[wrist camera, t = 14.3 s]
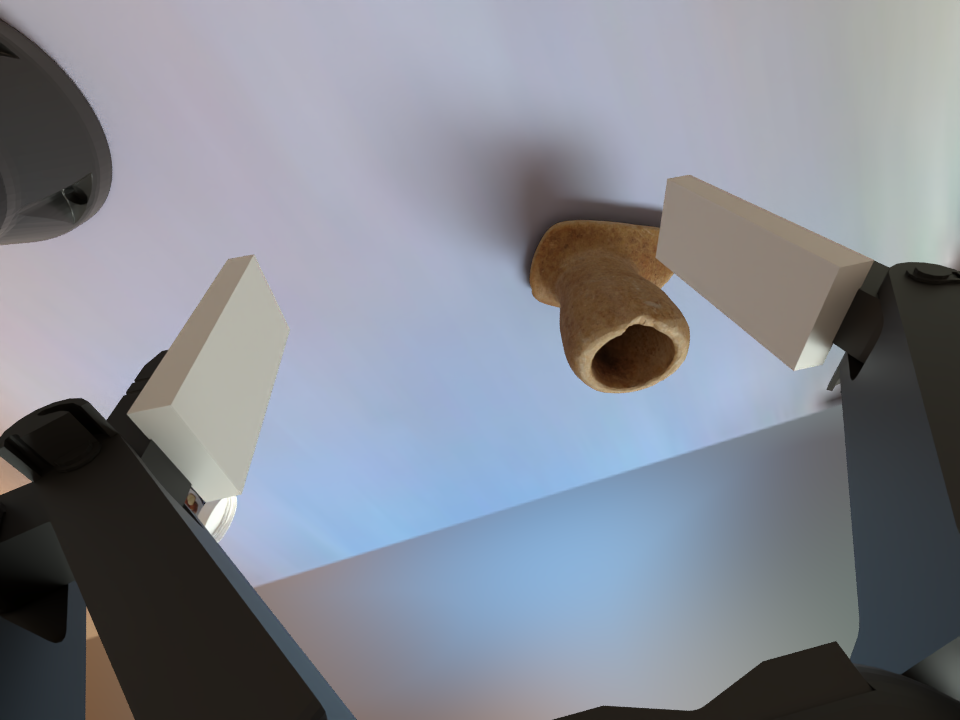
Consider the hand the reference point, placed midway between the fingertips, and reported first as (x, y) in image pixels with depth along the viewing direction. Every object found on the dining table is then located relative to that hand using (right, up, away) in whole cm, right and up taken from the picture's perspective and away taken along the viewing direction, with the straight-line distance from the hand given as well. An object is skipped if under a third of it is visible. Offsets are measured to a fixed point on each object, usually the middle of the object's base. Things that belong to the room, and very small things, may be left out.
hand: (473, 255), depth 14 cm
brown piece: (+12, +6, +32) cm, 35 cm away
